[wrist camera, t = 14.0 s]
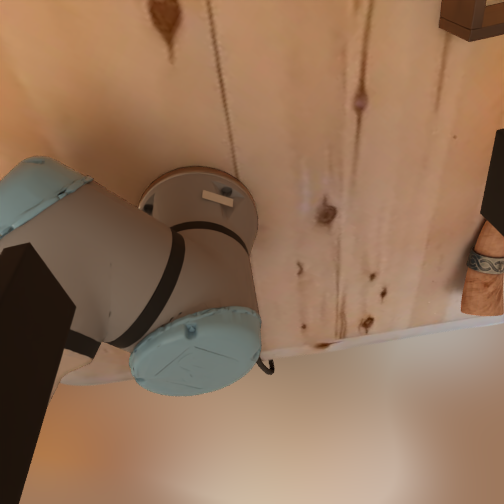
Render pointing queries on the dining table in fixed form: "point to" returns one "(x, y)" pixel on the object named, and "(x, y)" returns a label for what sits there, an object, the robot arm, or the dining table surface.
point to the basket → (472, 19)
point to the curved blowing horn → (485, 275)
